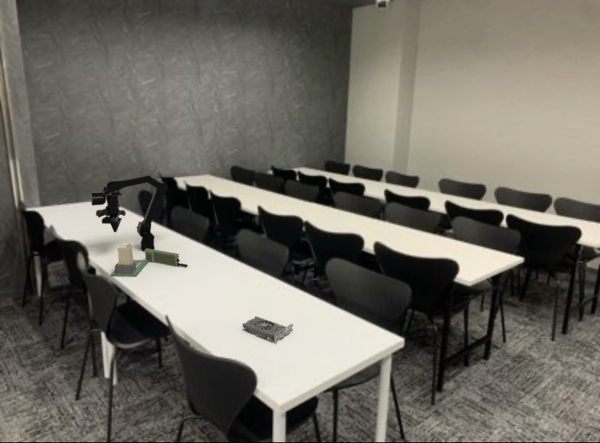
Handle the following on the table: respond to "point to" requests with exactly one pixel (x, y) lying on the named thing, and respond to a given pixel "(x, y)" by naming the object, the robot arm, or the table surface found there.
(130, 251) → the plug
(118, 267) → the board
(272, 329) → the graphics card
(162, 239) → the table surface
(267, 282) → the table surface
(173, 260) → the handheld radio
